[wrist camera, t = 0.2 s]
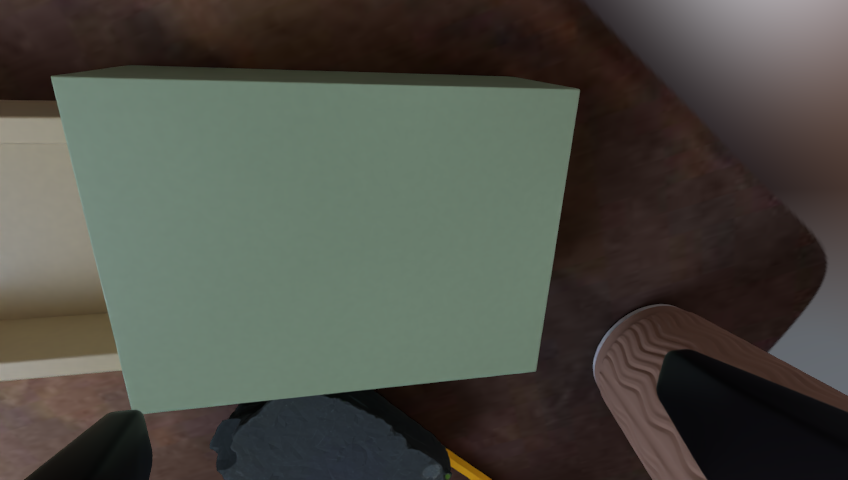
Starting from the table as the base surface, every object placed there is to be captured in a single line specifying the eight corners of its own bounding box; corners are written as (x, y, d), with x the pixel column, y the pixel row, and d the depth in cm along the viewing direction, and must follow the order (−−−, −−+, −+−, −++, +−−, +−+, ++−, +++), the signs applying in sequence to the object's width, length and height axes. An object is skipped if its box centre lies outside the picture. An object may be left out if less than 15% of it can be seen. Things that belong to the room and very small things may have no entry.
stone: (369, 517, 30) (373, 565, 27) (195, 438, 25) (179, 486, 22) (461, 432, 28) (474, 474, 26) (295, 330, 23) (290, 369, 21)
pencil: (555, 533, 34) (560, 542, 34) (363, 403, 26) (364, 412, 26) (564, 526, 34) (568, 535, 33) (373, 394, 26) (375, 403, 25)
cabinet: (175, 325, 22) (132, 415, 17) (127, 65, 18) (49, 75, 13) (489, 302, 25) (536, 372, 20) (513, 76, 21) (581, 89, 16)
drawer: (-146, 347, 19) (-262, 424, 15) (-281, 74, 15) (-482, 86, 11) (267, 317, 22) (257, 374, 18) (245, 86, 18) (226, 98, 14)
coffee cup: (689, 412, 32) (880, 600, 21) (550, 425, 30) (685, 644, 19) (740, 275, 28) (1003, 419, 18) (585, 278, 26) (778, 447, 15)
